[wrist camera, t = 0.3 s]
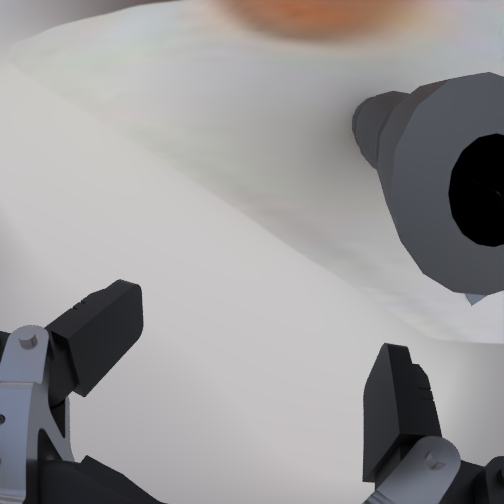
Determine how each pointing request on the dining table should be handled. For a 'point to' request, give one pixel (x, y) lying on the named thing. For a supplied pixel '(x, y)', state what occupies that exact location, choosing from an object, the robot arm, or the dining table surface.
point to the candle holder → (443, 175)
